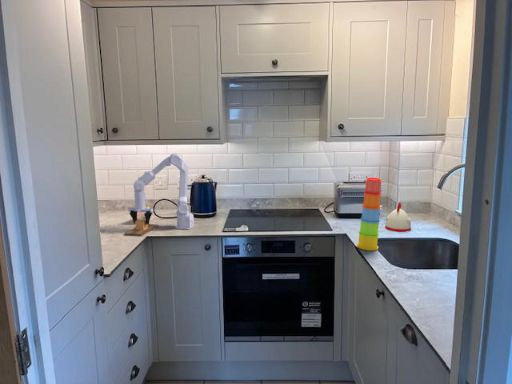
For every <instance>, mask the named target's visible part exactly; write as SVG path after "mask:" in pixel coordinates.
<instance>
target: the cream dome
mask: <svg viewBox="0 0 512 384" xmlns="http://www.w3.org/2000/svg"><path fill="white" fill-rule="evenodd" d="M386 216H387V217H386V220H385V226H384V228H385V229H386V230H388V231H389V232H396V233H407V232H406V231H408V232H411V229H412V222H411V221H412V220H411V216H410V217H409V215H408V213H407V212H406V211H405V210H404V209H402V202H398V204H397V208H395V209H394V210H392V211H391V212H390V213H389V214H388V215H386Z"/></svg>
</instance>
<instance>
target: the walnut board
mask: <svg viewBox="0 0 512 384" xmlns="http://www.w3.org/2000/svg"><path fill="white" fill-rule="evenodd" d="M158 227H159V224H154V223H153V224H151V223H149V224H148V228H147V229H145V230H136V227H134V228H131V229H130V230H128V231H126V232H125V233H124V236H129V235H130V236H131V237H142V236H144V235H146V234H147V233H149V232H151V231H153V230H155V229H157V228H158ZM130 236H129V237H130Z"/></svg>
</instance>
